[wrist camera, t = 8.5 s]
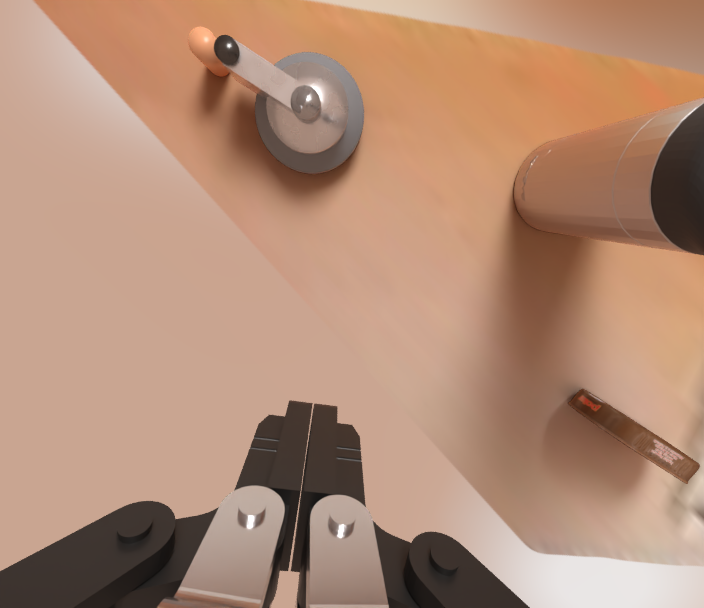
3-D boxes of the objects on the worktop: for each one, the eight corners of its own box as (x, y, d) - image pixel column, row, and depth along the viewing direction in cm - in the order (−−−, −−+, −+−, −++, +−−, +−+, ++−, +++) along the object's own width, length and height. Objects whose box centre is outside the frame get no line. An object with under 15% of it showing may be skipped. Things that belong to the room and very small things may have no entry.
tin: (553, 394, 44) (601, 436, 36) (571, 374, 44) (623, 413, 36) (638, 448, 47) (700, 500, 39) (656, 431, 46) (722, 479, 38)
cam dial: (362, 99, 33) (365, 83, 28) (324, 169, 34) (321, 165, 30) (249, 23, 31) (235, -6, 26) (215, 101, 32) (195, 86, 28)
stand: (370, 72, 34) (375, 53, 30) (353, 181, 37) (355, 179, 32) (208, 39, 33) (188, 15, 29) (202, 155, 36) (184, 149, 31)
